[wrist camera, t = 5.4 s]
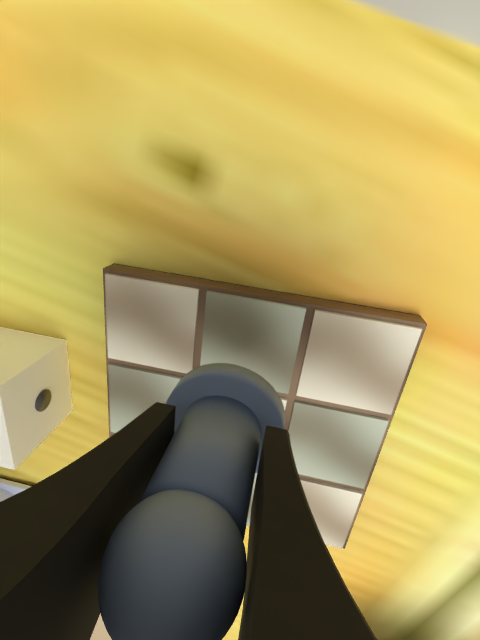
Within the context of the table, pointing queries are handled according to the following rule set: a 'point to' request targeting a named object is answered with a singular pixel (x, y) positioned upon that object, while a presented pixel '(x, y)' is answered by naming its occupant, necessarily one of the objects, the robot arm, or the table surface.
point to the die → (31, 392)
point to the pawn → (192, 514)
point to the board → (268, 369)
